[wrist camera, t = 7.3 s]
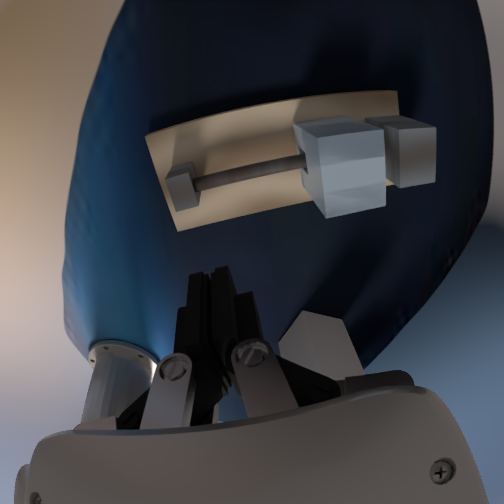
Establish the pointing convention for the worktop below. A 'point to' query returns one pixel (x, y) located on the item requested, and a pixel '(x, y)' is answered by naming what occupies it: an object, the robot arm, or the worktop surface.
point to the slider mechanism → (274, 154)
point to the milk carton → (321, 346)
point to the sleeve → (342, 164)
